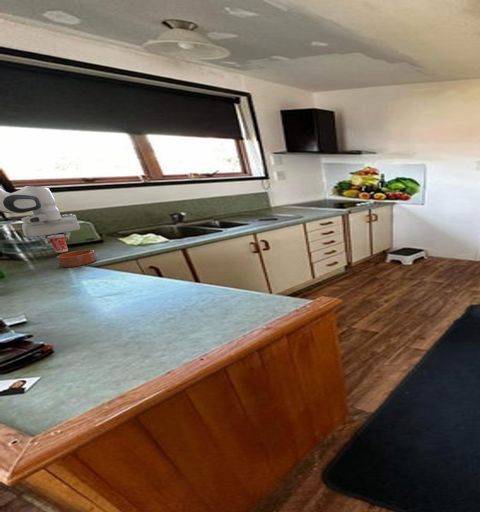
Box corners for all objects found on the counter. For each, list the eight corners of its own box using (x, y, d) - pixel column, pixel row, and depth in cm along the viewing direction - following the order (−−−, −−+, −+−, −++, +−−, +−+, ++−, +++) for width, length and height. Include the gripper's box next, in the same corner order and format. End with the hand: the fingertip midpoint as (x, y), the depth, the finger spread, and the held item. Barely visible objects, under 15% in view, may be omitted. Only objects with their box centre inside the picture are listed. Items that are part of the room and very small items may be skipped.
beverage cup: (50, 253, 147) (40, 228, 143) (57, 250, 152) (48, 226, 148) (66, 252, 150) (56, 227, 145) (72, 249, 155) (63, 225, 151)
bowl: (57, 269, 136) (53, 259, 135) (65, 262, 146) (61, 253, 145) (94, 263, 144) (90, 254, 142) (99, 257, 154) (95, 248, 152)
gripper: (72, 213, 155) (80, 236, 159) (16, 219, 137) (27, 245, 142) (77, 214, 153) (86, 237, 157) (21, 220, 135) (32, 246, 139)
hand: (58, 241), depth 149 cm, fingers closed on beverage cup, 6 cm apart
